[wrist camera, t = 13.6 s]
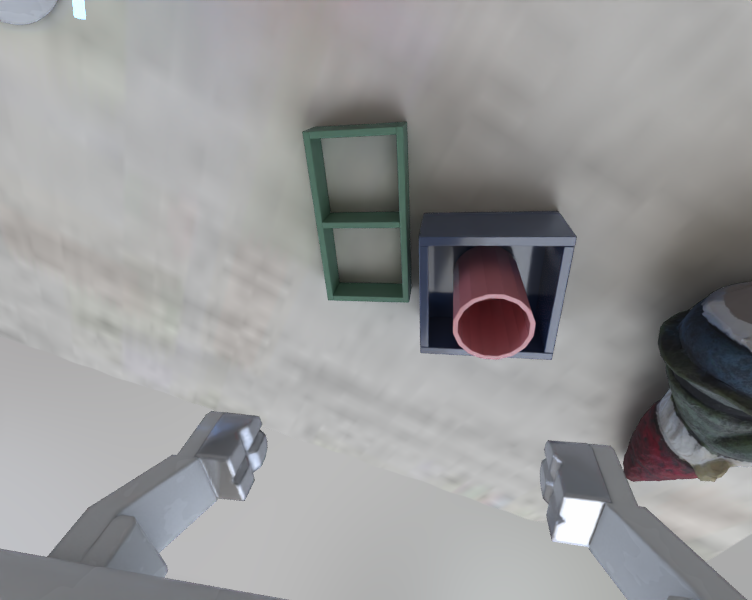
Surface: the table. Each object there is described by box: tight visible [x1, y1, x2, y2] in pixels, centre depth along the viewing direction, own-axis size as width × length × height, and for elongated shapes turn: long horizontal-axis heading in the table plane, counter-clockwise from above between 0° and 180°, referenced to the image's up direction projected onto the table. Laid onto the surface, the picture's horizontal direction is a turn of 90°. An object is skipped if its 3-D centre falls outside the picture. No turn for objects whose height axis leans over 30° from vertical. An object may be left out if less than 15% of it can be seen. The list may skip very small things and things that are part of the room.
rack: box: [302, 122, 412, 303], centre depth 37 cm, size 16×8×3 cm, turn 4°
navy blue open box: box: [419, 211, 577, 360], centre depth 37 cm, size 12×12×6 cm
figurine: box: [623, 282, 752, 482], centre depth 38 cm, size 29×17×15 cm
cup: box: [453, 246, 536, 359], centre depth 35 cm, size 6×6×10 cm
